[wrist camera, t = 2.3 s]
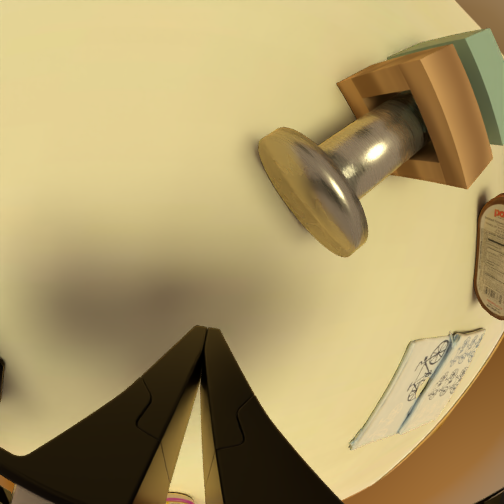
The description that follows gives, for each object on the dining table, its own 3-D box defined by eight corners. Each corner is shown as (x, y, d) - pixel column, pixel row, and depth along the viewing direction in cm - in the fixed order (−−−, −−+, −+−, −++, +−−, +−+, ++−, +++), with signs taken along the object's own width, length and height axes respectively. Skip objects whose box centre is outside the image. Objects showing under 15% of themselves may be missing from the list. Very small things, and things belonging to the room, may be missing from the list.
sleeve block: (383, 173, 20) (467, 189, 13) (336, 83, 17) (420, 59, 10) (412, 149, 20) (492, 158, 13) (371, 65, 17) (452, 43, 10)
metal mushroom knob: (305, 236, 20) (372, 277, 13) (244, 142, 17) (295, 132, 10) (405, 156, 20) (481, 166, 13) (363, 71, 17) (439, 50, 10)
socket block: (425, 139, 21) (502, 145, 13) (387, 57, 17) (465, 38, 10) (453, 115, 21) (521, 118, 13) (420, 43, 18) (489, 28, 10)
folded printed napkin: (427, 417, 39) (434, 424, 37) (342, 445, 32) (349, 456, 30) (481, 324, 34) (490, 330, 32) (408, 328, 28) (421, 338, 26)
